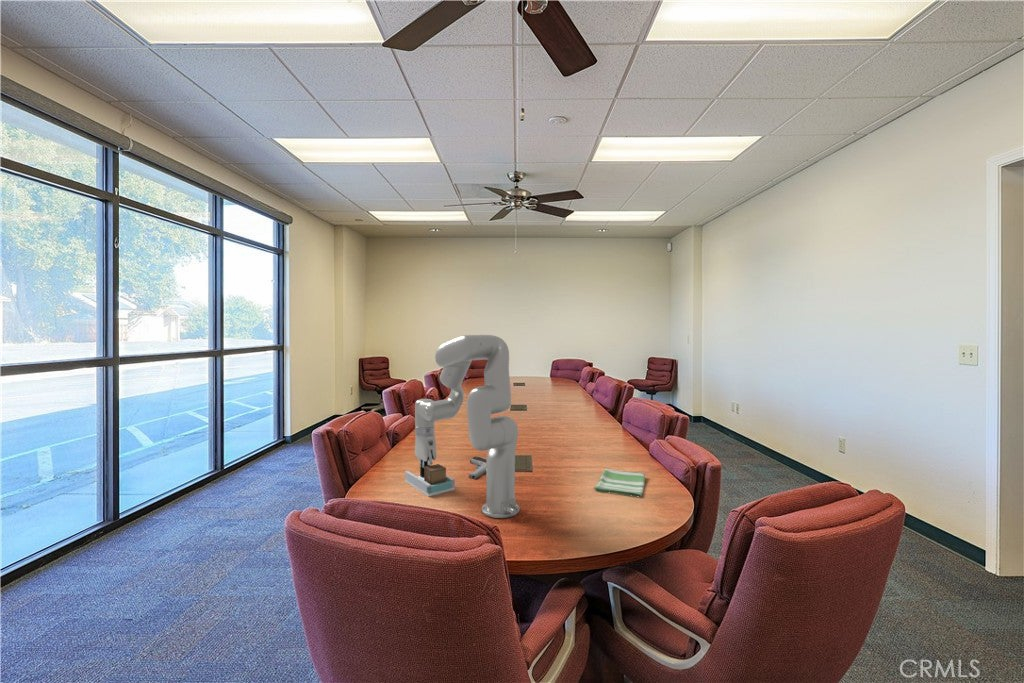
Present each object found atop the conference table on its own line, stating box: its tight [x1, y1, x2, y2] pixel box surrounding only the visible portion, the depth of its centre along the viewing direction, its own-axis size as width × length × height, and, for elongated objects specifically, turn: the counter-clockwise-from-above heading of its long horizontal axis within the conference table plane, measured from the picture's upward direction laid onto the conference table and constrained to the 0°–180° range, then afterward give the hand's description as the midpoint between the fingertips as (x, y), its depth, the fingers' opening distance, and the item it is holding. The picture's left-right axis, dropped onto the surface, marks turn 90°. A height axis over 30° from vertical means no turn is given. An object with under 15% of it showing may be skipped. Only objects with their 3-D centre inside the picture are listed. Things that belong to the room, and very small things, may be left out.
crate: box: [424, 463, 447, 485], centre depth 167 cm, size 6×6×7 cm
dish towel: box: [593, 468, 646, 498], centre depth 173 cm, size 18×23×3 cm
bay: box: [404, 470, 456, 497], centre depth 170 cm, size 20×11×4 cm, turn 38°
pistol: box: [468, 455, 487, 480], centre depth 191 cm, size 23×3×14 cm
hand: (424, 476), depth 173 cm, fingers closed
